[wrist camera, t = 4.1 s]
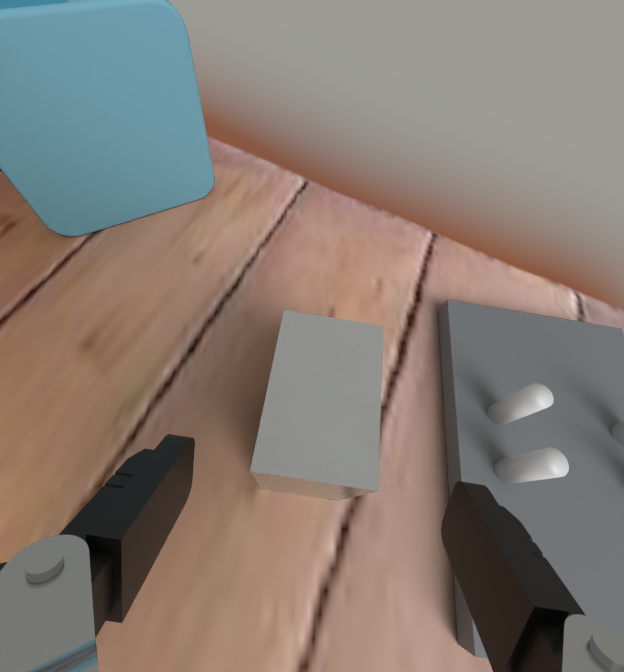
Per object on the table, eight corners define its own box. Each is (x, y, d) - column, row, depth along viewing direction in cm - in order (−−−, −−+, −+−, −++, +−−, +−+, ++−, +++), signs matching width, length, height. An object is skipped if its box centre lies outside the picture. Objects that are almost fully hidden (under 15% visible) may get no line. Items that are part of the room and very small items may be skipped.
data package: (196, 162, 29) (151, -39, 18) (218, 195, 27) (182, -7, 17) (44, 204, 25) (-124, -21, 15) (59, 244, 23) (-118, 24, 13)
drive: (260, 488, 17) (248, 470, 10) (280, 381, 20) (282, 309, 13) (337, 500, 17) (379, 491, 10) (347, 391, 20) (384, 326, 13)
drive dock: (457, 643, 15) (533, 698, 11) (438, 311, 24) (474, 265, 19) (715, 682, 15) (895, 751, 11) (602, 338, 24) (675, 299, 19)
